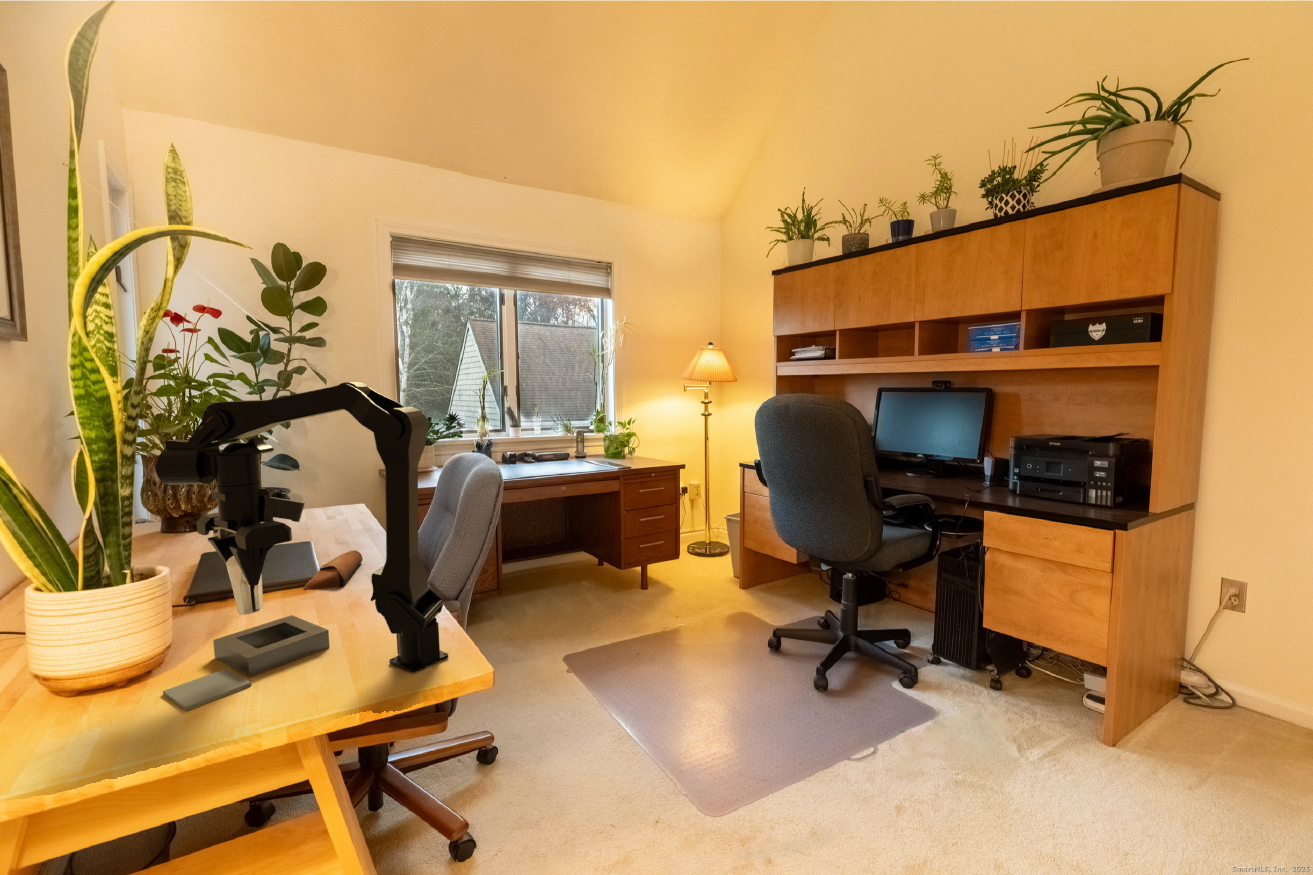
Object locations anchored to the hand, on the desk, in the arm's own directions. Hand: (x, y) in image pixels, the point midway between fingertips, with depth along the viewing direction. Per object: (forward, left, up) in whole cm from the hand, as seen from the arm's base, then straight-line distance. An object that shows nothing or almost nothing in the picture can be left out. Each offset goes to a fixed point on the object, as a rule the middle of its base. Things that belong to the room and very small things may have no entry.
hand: (247, 582), depth 95 cm
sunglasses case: (+32, -30, -14) cm, 46 cm away
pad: (-3, +8, -13) cm, 15 cm away
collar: (+2, -3, -13) cm, 14 cm away
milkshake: (-1, 0, -5) cm, 5 cm away
